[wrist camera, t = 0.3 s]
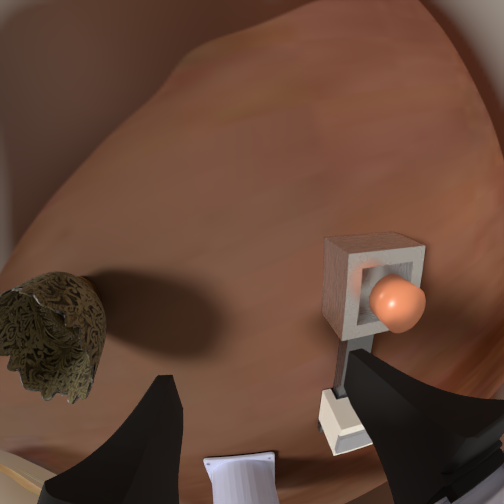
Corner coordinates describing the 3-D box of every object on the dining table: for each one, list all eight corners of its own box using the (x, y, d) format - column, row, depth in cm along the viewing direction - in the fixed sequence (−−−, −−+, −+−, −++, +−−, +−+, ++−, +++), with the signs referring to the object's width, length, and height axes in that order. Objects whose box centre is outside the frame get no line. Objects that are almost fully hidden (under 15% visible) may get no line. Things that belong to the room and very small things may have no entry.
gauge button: (402, 312, 17) (420, 327, 15) (366, 320, 17) (382, 337, 15) (409, 271, 16) (429, 283, 14) (371, 276, 16) (389, 291, 14)
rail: (354, 417, 26) (359, 426, 25) (317, 427, 26) (321, 437, 24) (378, 306, 22) (387, 314, 20) (331, 314, 21) (338, 324, 20)
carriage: (359, 408, 26) (379, 444, 20) (318, 418, 25) (334, 459, 20) (366, 379, 24) (391, 417, 19) (322, 390, 24) (342, 433, 18)
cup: (118, 244, 18) (65, 293, 10) (137, 337, 20) (109, 412, 12) (36, 251, 17) (-28, 292, 9) (59, 335, 19) (17, 395, 12)
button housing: (386, 303, 22) (412, 325, 18) (321, 314, 21) (341, 342, 18) (393, 231, 20) (425, 245, 16) (324, 237, 20) (348, 254, 16)
